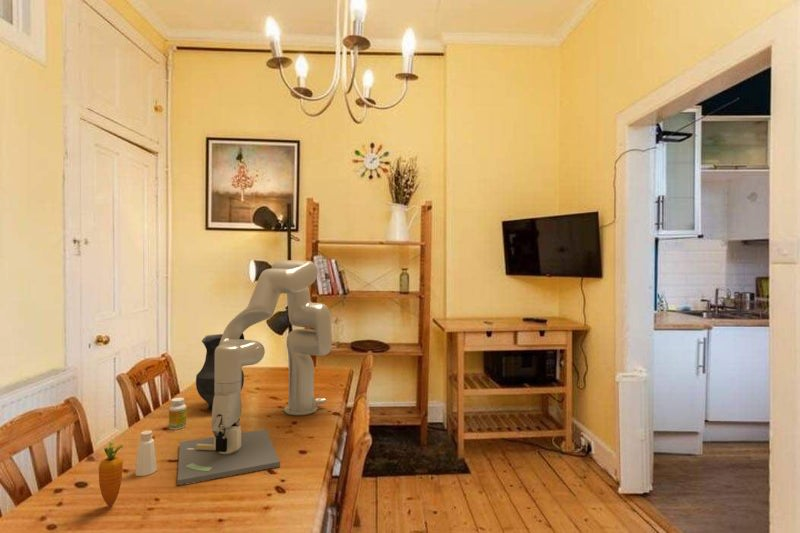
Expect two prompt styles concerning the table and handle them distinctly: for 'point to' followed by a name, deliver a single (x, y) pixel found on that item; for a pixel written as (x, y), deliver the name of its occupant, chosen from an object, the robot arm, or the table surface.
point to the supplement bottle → (177, 414)
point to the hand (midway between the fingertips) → (227, 445)
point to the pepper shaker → (146, 455)
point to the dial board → (225, 458)
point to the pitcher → (210, 370)
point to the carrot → (110, 475)
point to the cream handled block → (232, 441)
